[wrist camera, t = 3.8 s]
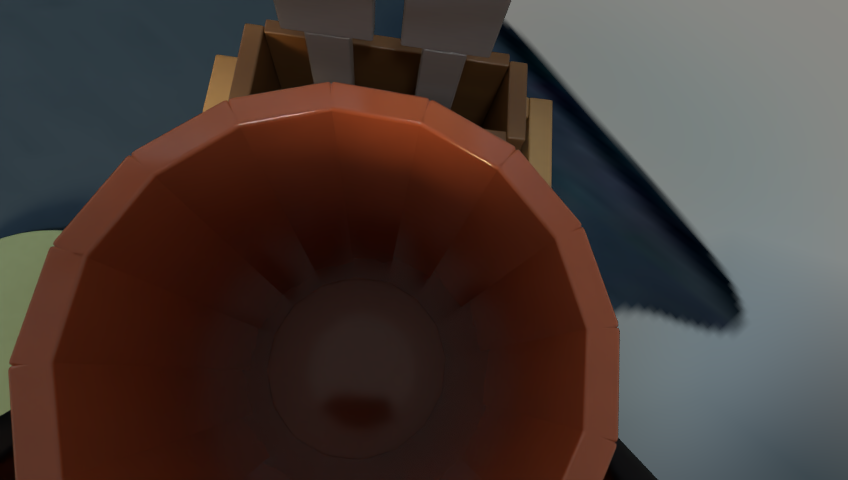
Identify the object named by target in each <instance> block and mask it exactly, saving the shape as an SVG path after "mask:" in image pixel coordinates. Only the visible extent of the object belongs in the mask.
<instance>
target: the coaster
mask: <svg viewBox="0 0 848 480" xmlns="http://www.w3.org/2000/svg"><path fill="white" fill-rule="evenodd" d="M61 232H62V231H61V230H41V231H32V232H25V233H20V234H16V235H12V236H8V237H4V238H1V239H0V416H1V415H2V414H4V413H6V412H7V411H9V410H11V408H10V392H9V377H8V370H9V367H11V366H12V365H10V364H9V361H10V358H11V355H12V352H13V349H14V347H15V344H16V341H17V338H18V335H19V332H20V330H21V327H22V324H23V321H24V318H25V316H26V313H27V310H28V307H29V304H30V301H31V299H32V296H33V293H34V290H35V287H36V285H37V282H38V279H39V276H40V273H41V270H42V268H43V265H44V262H45V259H46V256H47V254H48V251H49V249H50V247H52V246H54V245H53V242H54V241H55V239H56V238H57V237H58V236H59V235H60V234H61Z"/></svg>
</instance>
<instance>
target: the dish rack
mask: <svg viewBox="0 0 848 480" xmlns="http://www.w3.org/2000/svg"><path fill="white" fill-rule="evenodd" d="M273 1H274V5H275V9H276V13H277V16H278V20H279V21H274V20H266V23H265V28H264V26H261V25H254V24H245V26H244V31H243V35H242V40H241V44H240V49H239V53H238V57H231V56H224V55H216V57H215V62H214V66H213V70H212V75H211V79H210V83H209V87H208V92H207V96H206V100H205V104H204V109H203V112H205V111H206V110H208V109H210V108H212V107H214V106H215V105H217V104H219V103H221V102H222V101H225V100H227V101H228V102H229V99H231V98H235V97H241V96H247V95H253V94H259V93H264V92H270V91H276V90H282V89H288V88H294V87H300V86H305V85H311V84H317V83H323V82H330V83H331V84H332V82H339V83H345V84H351V85H356V86H362V87H368V88H374V89H379V90H385V91H391V92H397V93H402V94H408V95H414V96H420V97H426V98H428V99H429V101H431V100H434V101H436V102H438V103H439V104H441V105H443V106H445V107H446V108H448V109H450V110H452V111H453V112H455V113H457V114H459V115H461V116H462V117H464V118H466V119H468V120H469V121H471V122H473V123H475V124H476V125H478V126H480V127H482V128H483V129H485V130H487V131H489V132H490V133H492V134H494V135H496V136H497V137H499V138H501V139H503V140H504V141H506V142H508V143H510V144H511V145H513V146H514V147H515V148H516V149H515V150H519V151H520V152H521V153H522V154H523V155H524V156H525V157H526V159H527V160H528V161H529V162H530V163H531V165H532V166H533V167H534V168H535V169H536V170H537V172H538V173H539V174H540V175H541V176H542V178H543V179H544V180H545V181H546V182H547V183H548V185H549V186H550V187H551V176H552V101H551V100H545V99H538V98H530V99H529V98H528V97H527V64H526V63H520V62H513V61H511V62H510V63H509V59H510V56H509V54H504V53H497V52H492V50H493V47H494V44H495V42H496V39H497V37H498V34H499V31H500V29H501V26H502V23H503V21H504V18H505V15H506V13H507V10H508V7H509V5H510V2H511V0H405V1H404V12H403V22H402V33H401V39H400V38H393V37H386V36H379V35H374V29H375V0H273Z"/></svg>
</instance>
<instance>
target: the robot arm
mask: <svg viewBox="0 0 848 480" xmlns="http://www.w3.org/2000/svg"><path fill="white" fill-rule="evenodd" d="M615 443H616V449H615V452H614V454H613V457H612V459H611V462H610V464H609V467H608V469H607V472H606V474H605V477H604V479H603V480H657V478H655V476H654V475H653V474H652V473H651V472H650V471H649V470H648V469H647V468H646V467H645V466H644V465H643V464H642V463H641V461H639V459H638V458H637V457H636V456H635V455H634V454H633V453H632V452H631V451H630V450H629V449H628V448H627V447H626V446H625V445H624V443H623V442H622V441H621V440H620V439H619V438H618V440H617V442H615ZM0 480H15V469H14V454H13V438H12V423H11V410H9V411H7V412H6V413H4V414H2V415H1V416H0Z"/></svg>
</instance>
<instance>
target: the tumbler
mask: <svg viewBox="0 0 848 480" xmlns="http://www.w3.org/2000/svg"><path fill="white" fill-rule="evenodd" d="M515 149H516V148H515V147H514V146H513V145H511V144H510V143H508V142H506V141H504V140H503V139H501V138H499V137H497V136H496V135H494V134H492V133H490V132H489V131H487V130H485V129H483V128H482V127H480V126H478V125H476V124H475V123H473V122H471V121H469V120H468V119H466V118H464V117H462V116H461V115H459V114H457V113H455V112H453V111H452V110H450V109H448V108H446V107H445V106H443V105H441V104H439V103H438V102H436V101H434V100H431V101H429V99H428V98H426V97H420V96H414V95H408V94H402V93H397V92H391V91H385V90H379V89H374V88H368V87H362V86H356V85H351V84H345V83H339V82H332V84H331V83H330V82H323V83H317V84H311V85H305V86H300V87H294V88H288V89H282V90H276V91H270V92H264V93H259V94H253V95H247V96H241V97H235V98H231V99H229V102H228V101H227V100H225V101H222V102H221V103H219V104H217V105H215V106H214V107H212V108H210V109H208V110H206V111H205V112H203V113H201V114H199V115H197V116H196V117H194V118H192V119H190V120H188V121H187V122H185V123H183V124H181V125H180V126H178V127H176V128H174V129H172V130H171V131H169V132H167V133H165V134H163V135H162V136H160V137H158V138H156V139H155V140H153V141H151V142H149V143H147V144H146V145H144V146H142V147H140V148H138V149H137V150H135V151H133V152H132V153H131V154H132V156H127V157H126V158H125V159H124V160H123V162H122V163H121V164H120V165H119V166H118V167H117V169H116V170H115V171H114V172H113V173H112V174H111V176H110V177H109V178H108V179H107V180H106V181H105V183H104V184H103V185H102V186H101V187H100V188H99V189H98V191H97V192H96V193H95V194H94V195H93V196H92V198H91V199H90V200H89V201H88V202H87V203H86V205H85V206H84V207H83V208H82V209H81V210H80V212H79V213H78V214H77V215H76V216H75V217H74V219H73V220H72V221H71V222H70V223H69V224H68V225H67V227H66V228H65V229H64V230H63V231H62V232H61V234H60V235H59V236H58V237H57V238H56V239H55V241H54V242H53V245H54V246H52V247H50V249H49V251H48V254H47V256H46V259H45V262H44V265H43V268H42V270H41V273H40V276H39V279H38V282H37V285H36V287H35V290H34V293H33V296H32V299H31V301H30V304H29V307H28V310H27V313H26V316H25V318H24V321H23V324H22V327H21V330H20V332H19V335H18V338H17V341H16V344H15V347H14V349H13V352H12V355H11V358H10V361H9V364H10V365H12V366H11V367H9V370H8V377H9V392H10V408H11V423H12V438H13V454H14V469H15V480H603V479H604V477H605V474H606V472H607V469H608V467H609V464H610V462H611V459H612V457H613V454H614V452H615V449H616V443H615V442H617V440H618V411H619V344H620V339H619V338H620V331H619V328H617V327H618V321H617V318H616V315H615V313H614V310H613V307H612V304H611V302H610V299H609V296H608V293H607V290H606V288H605V285H604V282H603V279H602V277H601V274H600V271H599V268H598V265H597V263H596V260H595V257H594V254H593V252H592V249H591V246H590V243H589V241H588V238H587V235H586V232H585V229H584V228H583V227H581V223H580V221H579V220H578V219H577V218H576V217H575V215H574V214H573V213H572V212H571V211H570V210H569V208H568V207H567V206H566V205H565V204H564V202H563V201H562V200H561V199H560V198H559V197H558V195H557V194H556V193H555V192H554V191H553V189H552V188H551V187H550V186H549V185H548V183H547V182H546V181H545V180H544V179H543V178H542V176H541V175H540V174H539V173H538V172H537V170H536V169H535V168H534V167H533V166H532V165H531V163H530V162H529V161H528V160H527V159H526V157H525V156H524V155H523V154H522V153H521V152H520V151H519V150H515Z"/></svg>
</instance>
